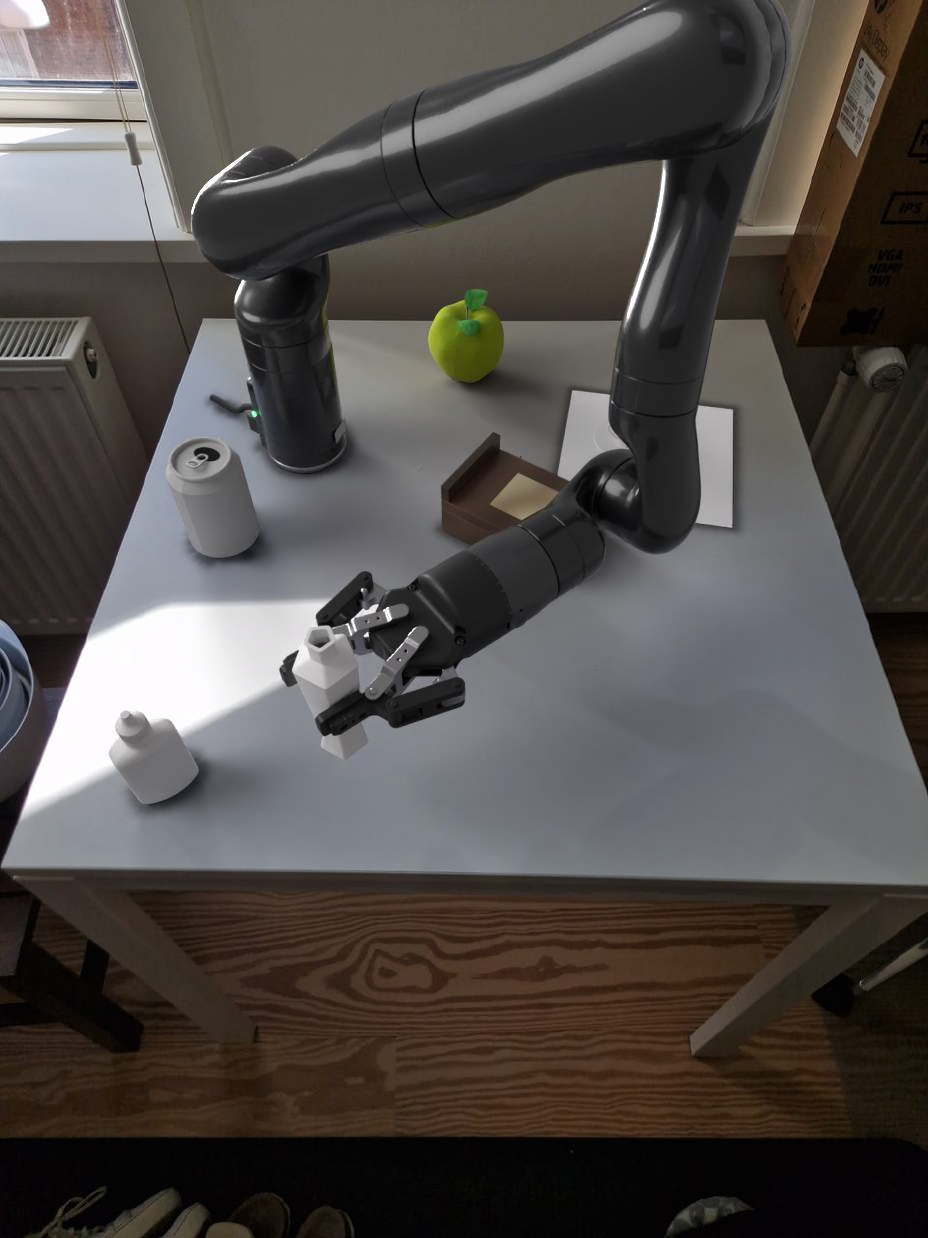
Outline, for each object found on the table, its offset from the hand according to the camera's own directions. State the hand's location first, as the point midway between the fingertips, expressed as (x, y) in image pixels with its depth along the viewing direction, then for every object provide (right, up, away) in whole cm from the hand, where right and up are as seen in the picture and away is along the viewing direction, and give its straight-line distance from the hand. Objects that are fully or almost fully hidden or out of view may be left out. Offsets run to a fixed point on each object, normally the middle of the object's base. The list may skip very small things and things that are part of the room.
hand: (301, 702), depth 62 cm
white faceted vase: (+2, -4, +8) cm, 9 cm away
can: (-14, +15, +32) cm, 38 cm away
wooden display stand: (+18, +16, +32) cm, 40 cm away
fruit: (+12, +38, +48) cm, 62 cm away
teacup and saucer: (+33, +25, +39) cm, 58 cm away
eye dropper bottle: (-15, -9, +15) cm, 22 cm away
